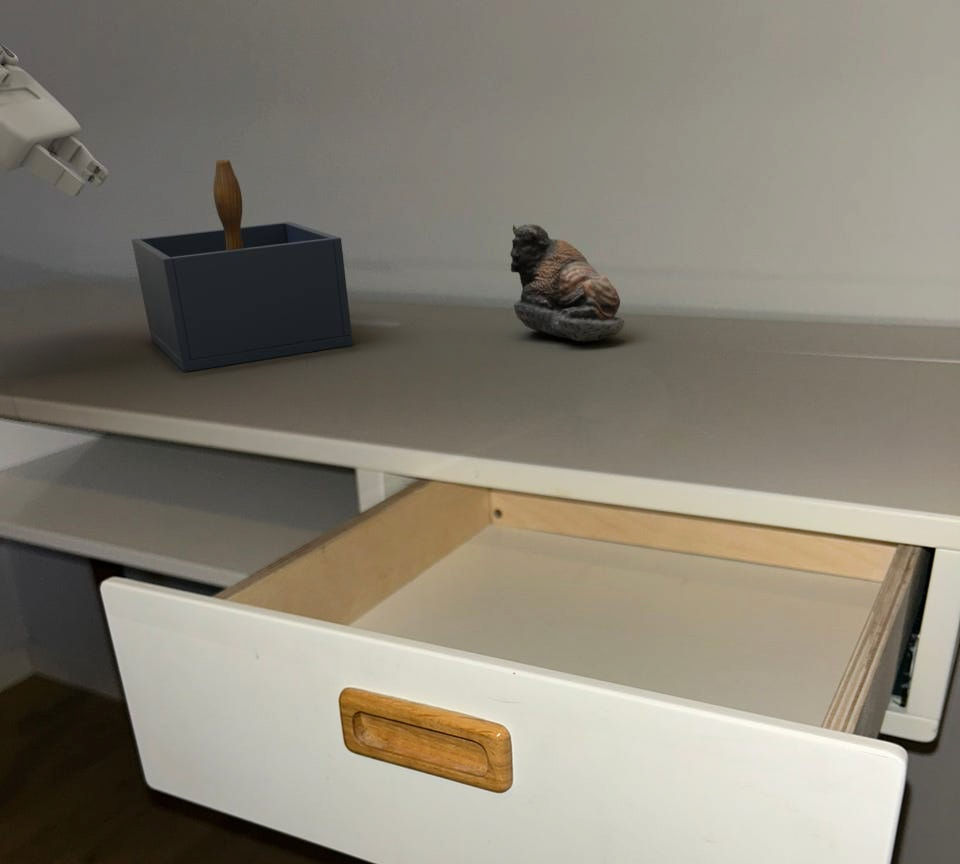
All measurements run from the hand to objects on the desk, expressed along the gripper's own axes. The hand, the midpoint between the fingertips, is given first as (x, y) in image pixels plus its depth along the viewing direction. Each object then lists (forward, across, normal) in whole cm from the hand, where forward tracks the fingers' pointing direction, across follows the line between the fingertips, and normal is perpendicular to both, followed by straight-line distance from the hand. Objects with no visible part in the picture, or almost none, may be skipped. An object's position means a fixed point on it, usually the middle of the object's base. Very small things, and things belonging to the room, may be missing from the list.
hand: (92, 185), depth 100 cm
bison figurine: (+42, -8, -20) cm, 47 cm away
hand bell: (+19, 0, +2) cm, 19 cm away
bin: (+20, 0, +2) cm, 20 cm away
